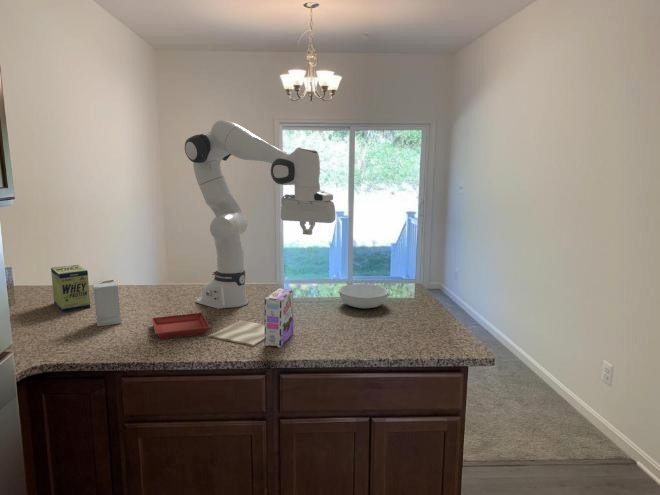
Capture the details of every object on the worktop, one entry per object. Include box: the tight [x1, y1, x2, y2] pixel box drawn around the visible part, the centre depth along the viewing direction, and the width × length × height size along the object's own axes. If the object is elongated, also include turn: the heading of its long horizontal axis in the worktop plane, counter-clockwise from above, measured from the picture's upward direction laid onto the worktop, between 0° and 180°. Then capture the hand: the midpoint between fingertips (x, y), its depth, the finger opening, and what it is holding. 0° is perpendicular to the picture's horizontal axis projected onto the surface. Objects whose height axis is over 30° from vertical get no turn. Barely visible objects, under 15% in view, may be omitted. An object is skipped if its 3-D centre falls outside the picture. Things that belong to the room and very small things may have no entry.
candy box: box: [264, 287, 294, 349], centre depth 158 cm, size 14×6×16 cm, turn 167°
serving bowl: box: [338, 283, 389, 310], centre depth 200 cm, size 21×21×7 cm
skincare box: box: [92, 281, 122, 327], centre depth 172 cm, size 8×6×15 cm
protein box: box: [50, 264, 91, 313], centre depth 192 cm, size 10×16×16 cm
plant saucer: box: [151, 312, 211, 340], centre depth 168 cm, size 18×18×3 cm
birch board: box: [209, 319, 265, 347], centre depth 165 cm, size 18×18×1 cm
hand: (307, 234), depth 165 cm, fingers closed
